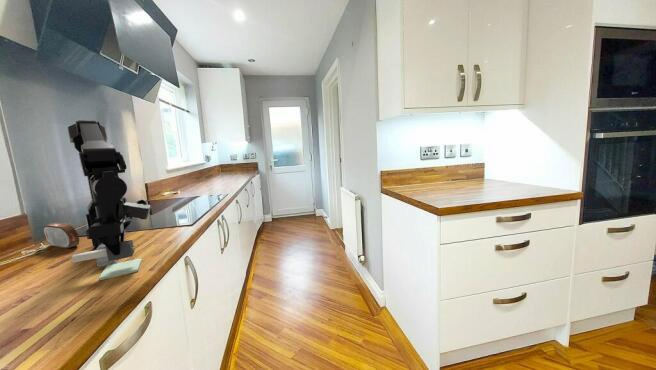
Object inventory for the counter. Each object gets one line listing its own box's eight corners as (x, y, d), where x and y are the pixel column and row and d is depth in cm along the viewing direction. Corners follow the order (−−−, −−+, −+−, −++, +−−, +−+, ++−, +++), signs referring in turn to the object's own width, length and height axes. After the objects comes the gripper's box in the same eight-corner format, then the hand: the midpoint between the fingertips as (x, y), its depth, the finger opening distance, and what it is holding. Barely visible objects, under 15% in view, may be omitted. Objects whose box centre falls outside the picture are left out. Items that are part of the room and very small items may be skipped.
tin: (82, 246, 88) (77, 223, 86) (70, 250, 85) (65, 226, 83) (56, 243, 93) (51, 221, 91) (44, 246, 90) (39, 223, 88)
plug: (137, 251, 72) (135, 239, 71) (135, 255, 69) (133, 243, 68) (77, 263, 66) (74, 250, 65) (72, 268, 63) (69, 255, 62)
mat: (142, 260, 74) (142, 258, 74) (137, 271, 68) (137, 269, 67) (107, 267, 71) (107, 265, 71) (99, 280, 64) (98, 278, 64)
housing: (122, 253, 80) (119, 238, 79) (116, 263, 73) (112, 247, 72) (105, 256, 78) (102, 241, 77) (97, 267, 71) (94, 250, 70)
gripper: (140, 197, 61) (150, 257, 64) (149, 187, 78) (157, 235, 80) (79, 204, 56) (93, 269, 59) (102, 192, 72) (113, 243, 75)
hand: (119, 252), depth 68 cm, fingers closed on plug, 4 cm apart
